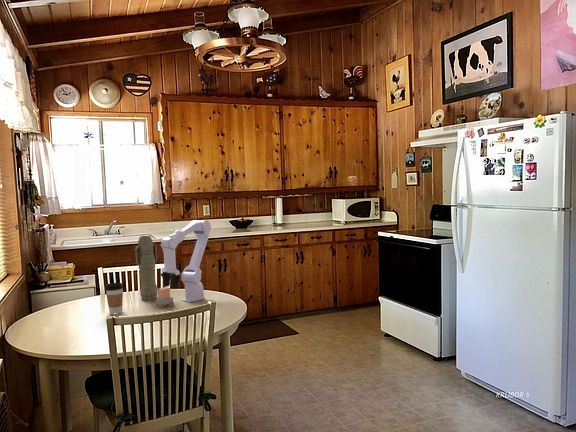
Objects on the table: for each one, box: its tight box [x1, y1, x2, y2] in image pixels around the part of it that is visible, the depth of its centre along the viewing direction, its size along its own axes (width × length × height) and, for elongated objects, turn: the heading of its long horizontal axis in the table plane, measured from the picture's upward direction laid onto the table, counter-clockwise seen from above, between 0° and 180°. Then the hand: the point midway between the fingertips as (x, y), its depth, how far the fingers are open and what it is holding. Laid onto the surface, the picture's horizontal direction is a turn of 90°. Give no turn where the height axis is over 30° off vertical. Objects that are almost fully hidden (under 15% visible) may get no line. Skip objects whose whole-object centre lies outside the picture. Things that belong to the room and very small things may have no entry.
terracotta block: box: [157, 286, 171, 299], centre depth 238 cm, size 4×4×5 cm
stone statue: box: [134, 235, 158, 302], centre depth 254 cm, size 9×12×35 cm
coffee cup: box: [104, 282, 124, 315], centre depth 230 cm, size 8×8×15 cm
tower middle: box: [155, 296, 174, 305], centre depth 238 cm, size 6×6×2 cm
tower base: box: [154, 301, 175, 310], centre depth 239 cm, size 7×7×2 cm
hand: (171, 287), depth 235 cm, fingers open, 7 cm apart
